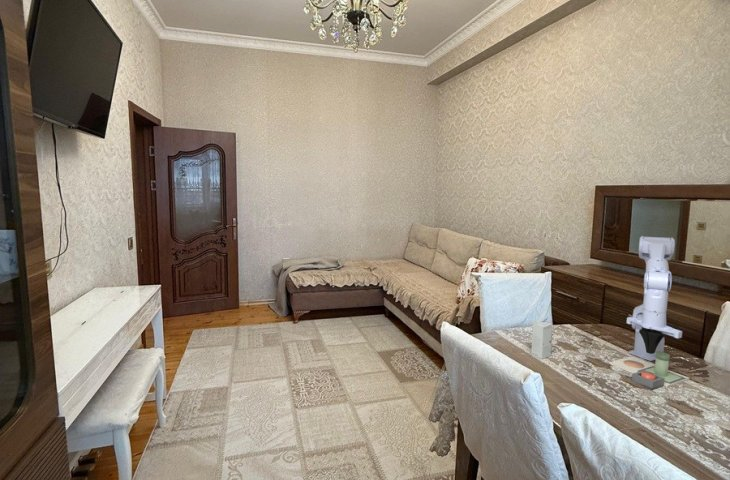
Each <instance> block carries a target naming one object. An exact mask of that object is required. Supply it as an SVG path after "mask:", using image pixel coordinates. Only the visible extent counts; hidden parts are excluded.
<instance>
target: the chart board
mask: <svg viewBox="0 0 730 480" xmlns="http://www.w3.org/2000/svg"><path fill="white" fill-rule="evenodd" d="M609 365H612V366H614V367H617V368H618V369H621V370H624V371H627V372H629V373H632V374H633V373H636V372H639V371H643V370H645V371H647V372H651V373H654V371H655V364H653V363H650V362H648V361H645V360H642V359H641V358H640V359H639V358H637V357H634V356H627V357H624V358H619V359H616V360H613V361H610V362H609ZM654 374H655V373H654ZM655 375H656V374H655ZM660 377H662V376H660ZM663 378H665V380H664V386H663V387H666V388H670V387H672V386H675V385H679V384H680V383H684V382H686V381H687V382H688V381H689V380H690V377H688V376H687V375H686V376H685V375H682V374H680V373H677V372H676V371H672V370H669V369H668V376H667V377H663Z"/></svg>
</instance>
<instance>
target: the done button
mask: <svg viewBox="0 0 730 480" xmlns="http://www.w3.org/2000/svg"><path fill="white" fill-rule="evenodd" d="M641 376H642V377H644V378H647V379H649V380H655V377H656V375H655V374H654V373H651V372H647V371H642V372H641Z"/></svg>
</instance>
